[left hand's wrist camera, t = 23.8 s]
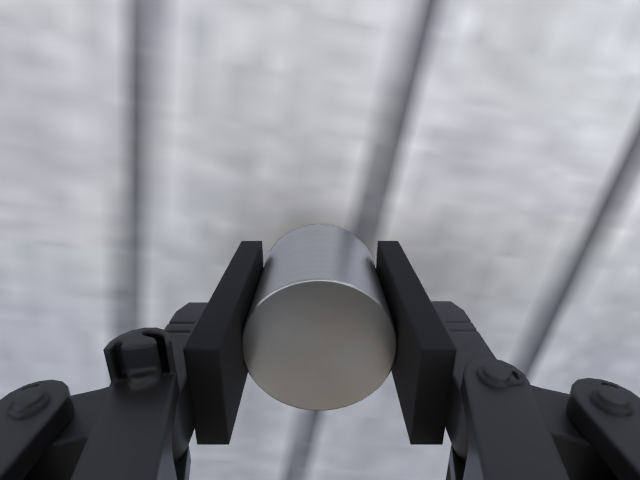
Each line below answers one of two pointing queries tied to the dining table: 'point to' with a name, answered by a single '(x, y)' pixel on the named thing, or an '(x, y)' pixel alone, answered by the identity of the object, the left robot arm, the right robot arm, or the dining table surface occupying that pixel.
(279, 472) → the dining table surface
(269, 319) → the can
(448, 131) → the dining table surface
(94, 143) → the dining table surface
